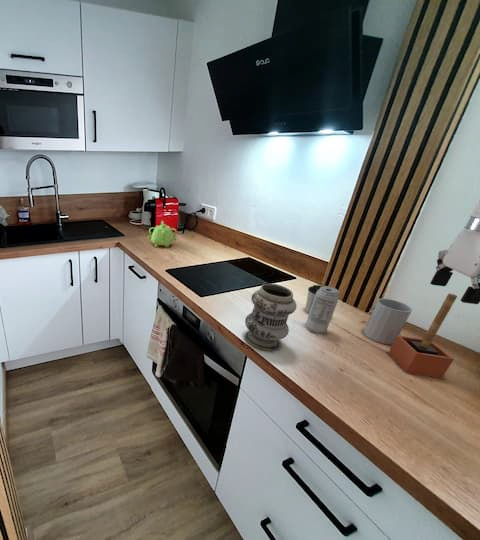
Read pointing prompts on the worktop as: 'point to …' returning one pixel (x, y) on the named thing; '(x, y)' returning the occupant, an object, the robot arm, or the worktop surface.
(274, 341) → the apothecary jar
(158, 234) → the teapot
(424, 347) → the brush
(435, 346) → the holder
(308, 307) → the coffee cup
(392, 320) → the grey cylindrical container
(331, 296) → the energy drink can
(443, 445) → the worktop surface
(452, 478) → the worktop surface
